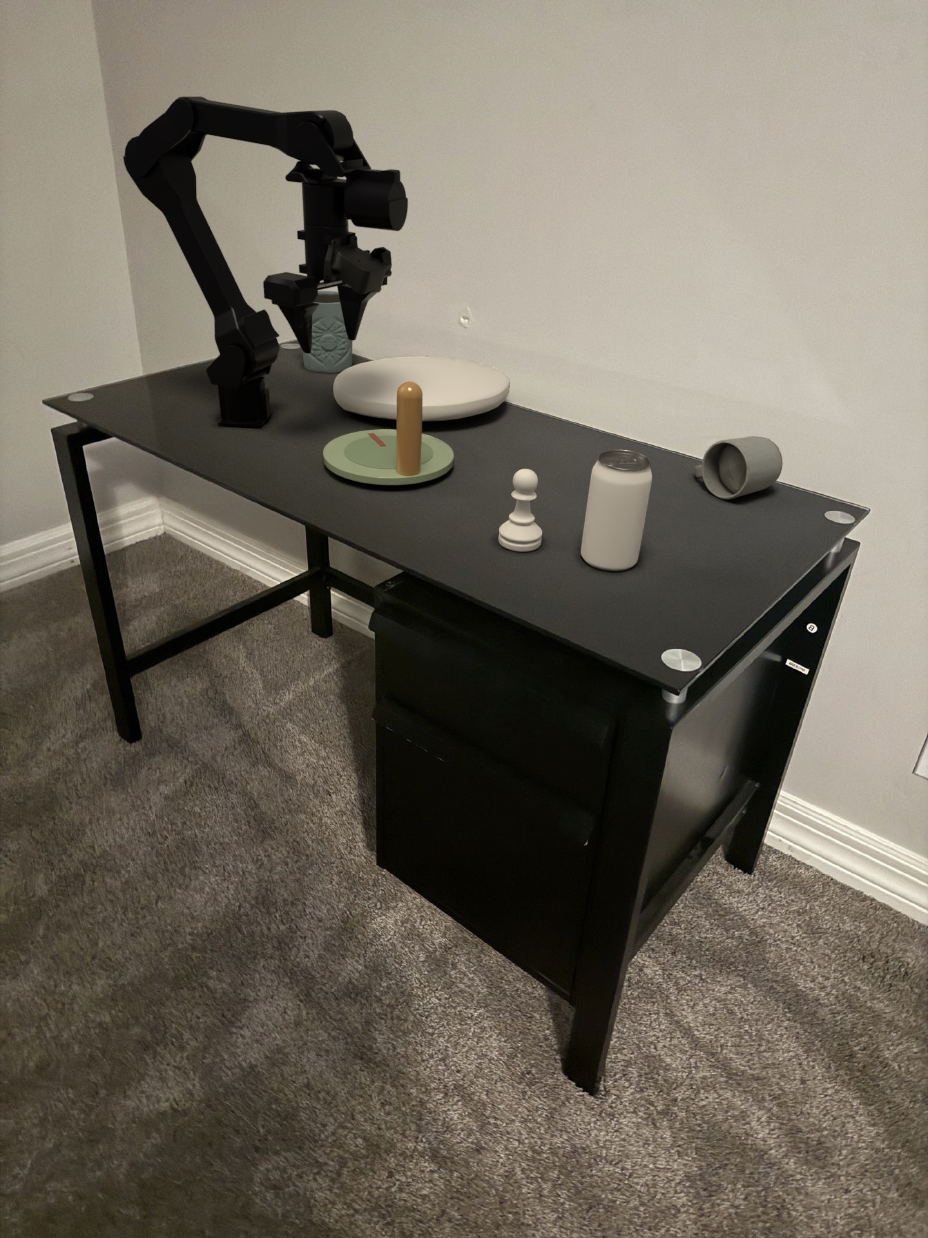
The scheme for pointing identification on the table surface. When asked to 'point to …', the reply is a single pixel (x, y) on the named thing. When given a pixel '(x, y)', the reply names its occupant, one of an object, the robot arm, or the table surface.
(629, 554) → the can
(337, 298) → the teal embossed cup
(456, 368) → the white round disc
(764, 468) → the ceramic mug
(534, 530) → the chess pawn
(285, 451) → the table surface
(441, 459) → the green disc with post
